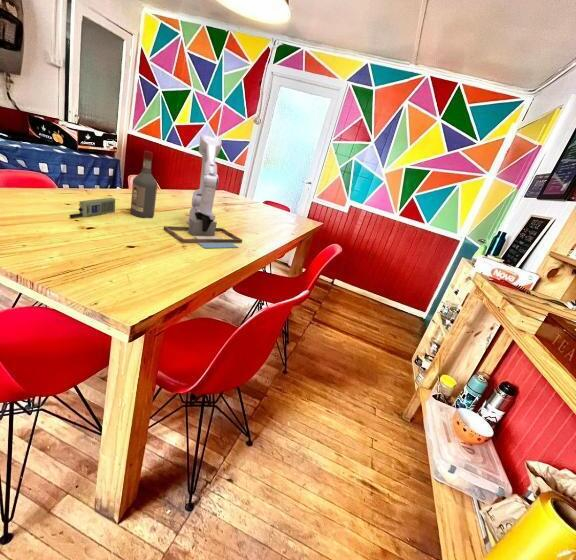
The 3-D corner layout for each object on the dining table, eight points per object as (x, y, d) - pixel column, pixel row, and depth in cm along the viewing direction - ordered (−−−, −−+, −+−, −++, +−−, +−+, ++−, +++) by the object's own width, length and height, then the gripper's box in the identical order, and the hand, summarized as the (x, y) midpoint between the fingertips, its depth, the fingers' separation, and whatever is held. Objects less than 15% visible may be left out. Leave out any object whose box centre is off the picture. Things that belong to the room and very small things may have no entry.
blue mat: (197, 243, 140) (197, 242, 140) (231, 243, 153) (231, 242, 153) (204, 248, 136) (204, 247, 136) (238, 248, 149) (238, 247, 149)
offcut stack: (192, 239, 146) (193, 235, 145) (221, 239, 156) (221, 236, 156) (197, 242, 143) (198, 239, 142) (225, 242, 153) (226, 239, 153)
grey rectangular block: (187, 233, 150) (190, 218, 148) (209, 233, 159) (212, 219, 156) (192, 236, 148) (194, 221, 145) (214, 236, 157) (216, 222, 154)
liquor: (145, 212, 163) (151, 151, 152) (156, 218, 159) (163, 155, 148) (128, 212, 156) (133, 147, 145) (138, 218, 151) (145, 152, 141)
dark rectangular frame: (163, 229, 145) (163, 226, 145) (222, 231, 168) (222, 228, 168) (181, 243, 135) (182, 239, 134) (241, 242, 158) (242, 239, 158)
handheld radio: (116, 213, 150) (74, 220, 127) (109, 211, 151) (67, 218, 127) (116, 198, 148) (74, 203, 125) (110, 197, 148) (66, 201, 125)
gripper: (191, 196, 149) (186, 224, 154) (207, 205, 140) (202, 234, 145) (204, 197, 154) (199, 225, 159) (221, 206, 146) (215, 235, 150)
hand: (202, 229), depth 152 cm, fingers closed on grey rectangular block, 4 cm apart
